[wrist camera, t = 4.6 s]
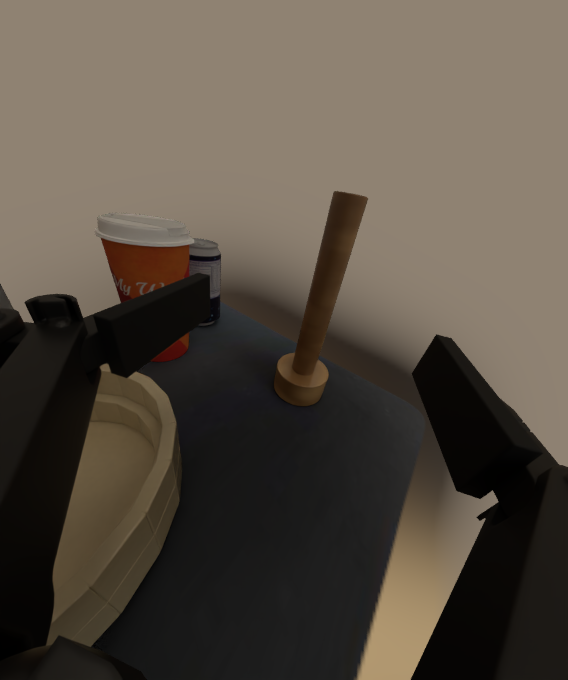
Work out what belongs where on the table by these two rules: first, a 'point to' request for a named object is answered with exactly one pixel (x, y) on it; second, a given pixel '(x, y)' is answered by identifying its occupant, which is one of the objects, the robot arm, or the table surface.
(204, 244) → the beverage can
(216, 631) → the table surface
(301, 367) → the brown tall rod post
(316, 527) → the table surface
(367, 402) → the table surface
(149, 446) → the bowl
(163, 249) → the coffee cup
